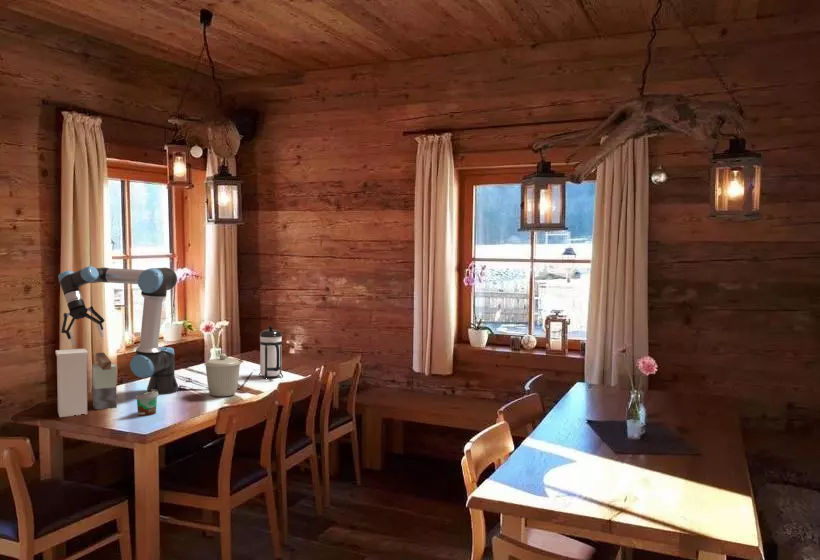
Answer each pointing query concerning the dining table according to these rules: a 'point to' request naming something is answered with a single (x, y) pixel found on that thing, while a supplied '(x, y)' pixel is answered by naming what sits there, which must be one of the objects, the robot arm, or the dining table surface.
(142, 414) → the food container
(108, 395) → the tower base block
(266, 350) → the coffee press
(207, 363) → the canister
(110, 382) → the tower top block
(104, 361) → the walnut bar
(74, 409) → the tall stand
